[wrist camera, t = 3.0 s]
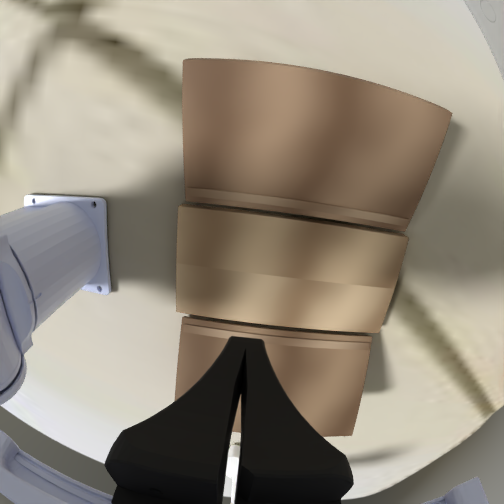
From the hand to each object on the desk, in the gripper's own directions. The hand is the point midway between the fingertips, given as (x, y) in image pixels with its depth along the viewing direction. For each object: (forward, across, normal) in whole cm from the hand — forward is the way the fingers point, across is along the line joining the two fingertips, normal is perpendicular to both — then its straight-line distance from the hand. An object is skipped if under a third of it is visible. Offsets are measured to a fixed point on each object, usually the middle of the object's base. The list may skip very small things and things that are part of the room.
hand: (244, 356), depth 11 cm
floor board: (+10, -2, 0) cm, 10 cm away
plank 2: (+7, -2, +9) cm, 12 cm away
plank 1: (+8, -3, -9) cm, 12 cm away
